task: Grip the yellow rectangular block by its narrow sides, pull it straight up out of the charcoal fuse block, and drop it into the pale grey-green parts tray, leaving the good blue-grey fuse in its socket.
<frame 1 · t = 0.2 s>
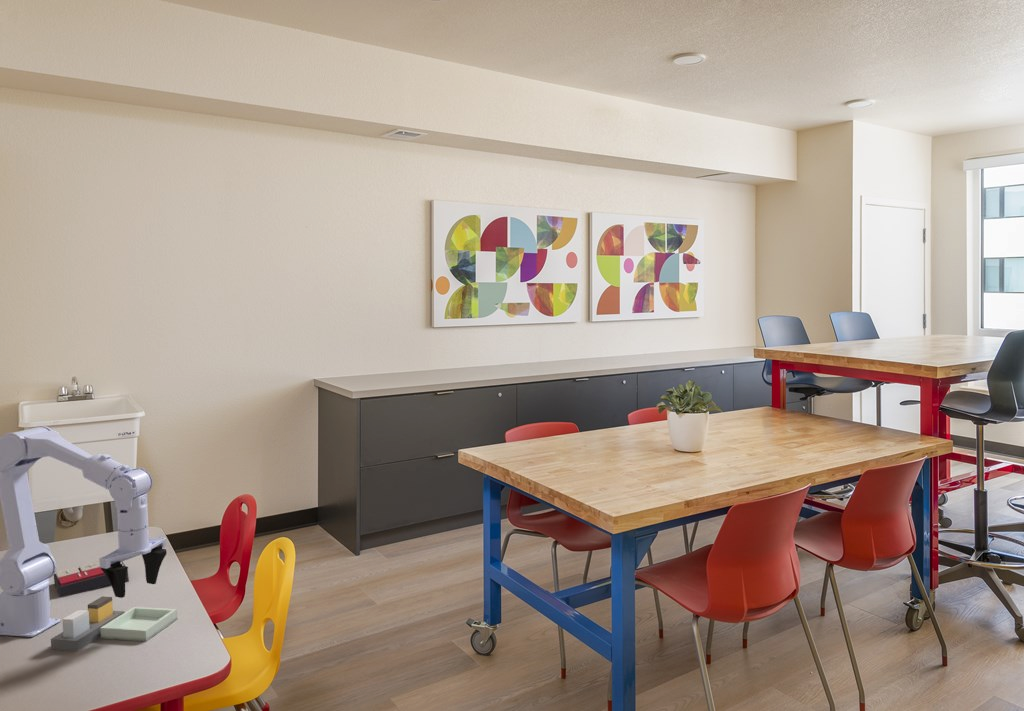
hand: (136, 589, 151), 10 cm above the table, tool pointing down, fingers open, 7 cm apart
yellow rectangular block: (101, 627, 155), resting in fuse block
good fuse: (77, 642, 148), resting in fuse block
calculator: (91, 584, 180), on the table
fuse block: (89, 634, 152), on the table
parts tray: (140, 628, 154), on the table
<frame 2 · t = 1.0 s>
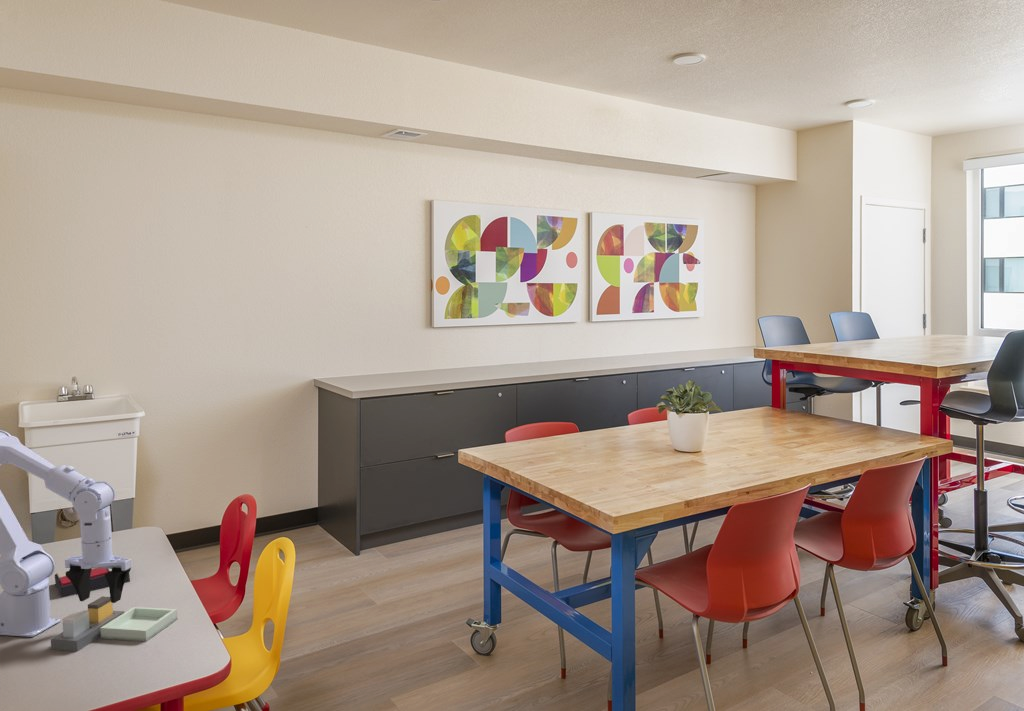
hand: (100, 600, 155), 6 cm above the table, tool pointing down, fingers open, 7 cm apart
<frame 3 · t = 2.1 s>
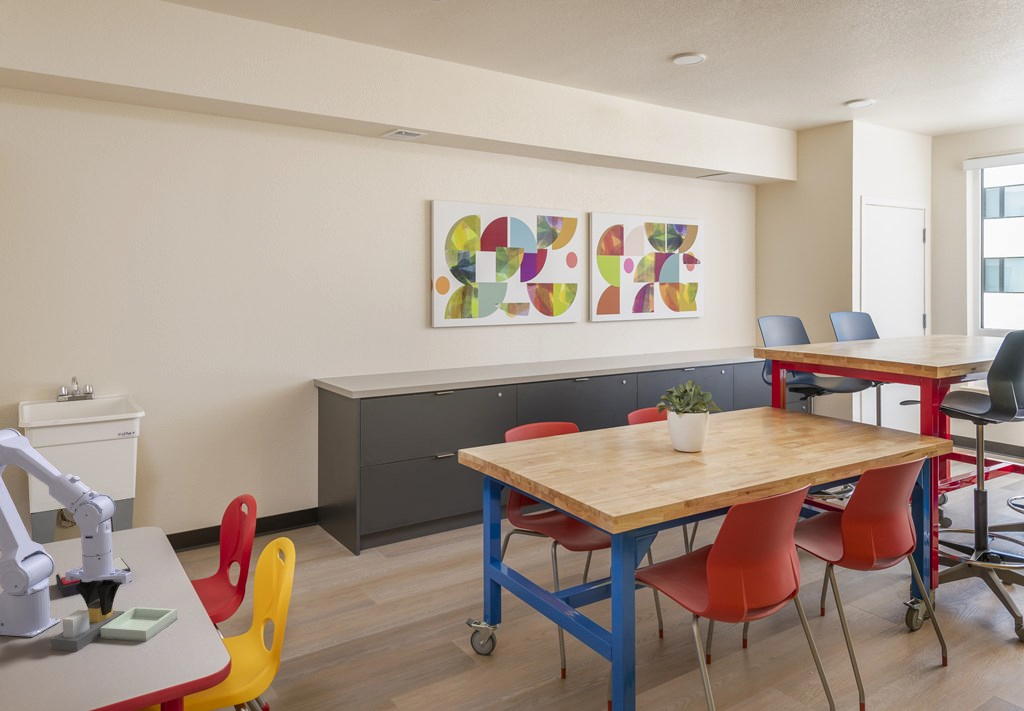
hand: (100, 612, 155), 3 cm above the table, tool pointing down, fingers closed on yellow rectangular block, 2 cm apart
yellow rectangular block: (101, 627, 155), resting in fuse block, touching gripper
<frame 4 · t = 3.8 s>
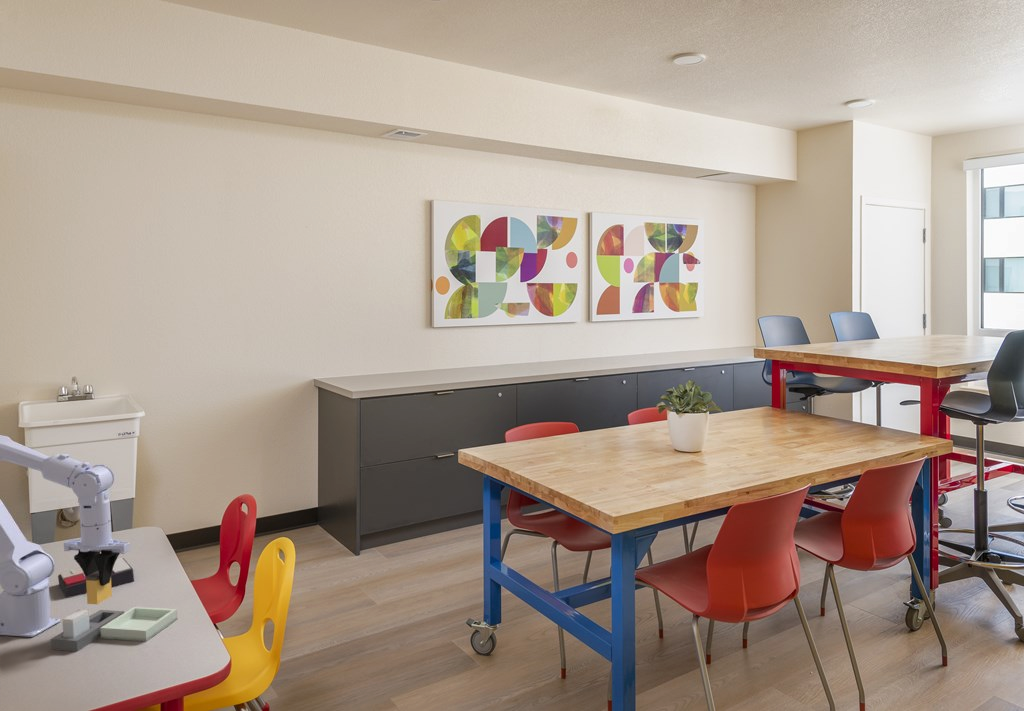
hand: (99, 583, 154), 10 cm above the table, tool pointing down, fingers closed on yellow rectangular block, 2 cm apart
yellow rectangular block: (99, 599, 155), point 6 cm above the table, touching gripper
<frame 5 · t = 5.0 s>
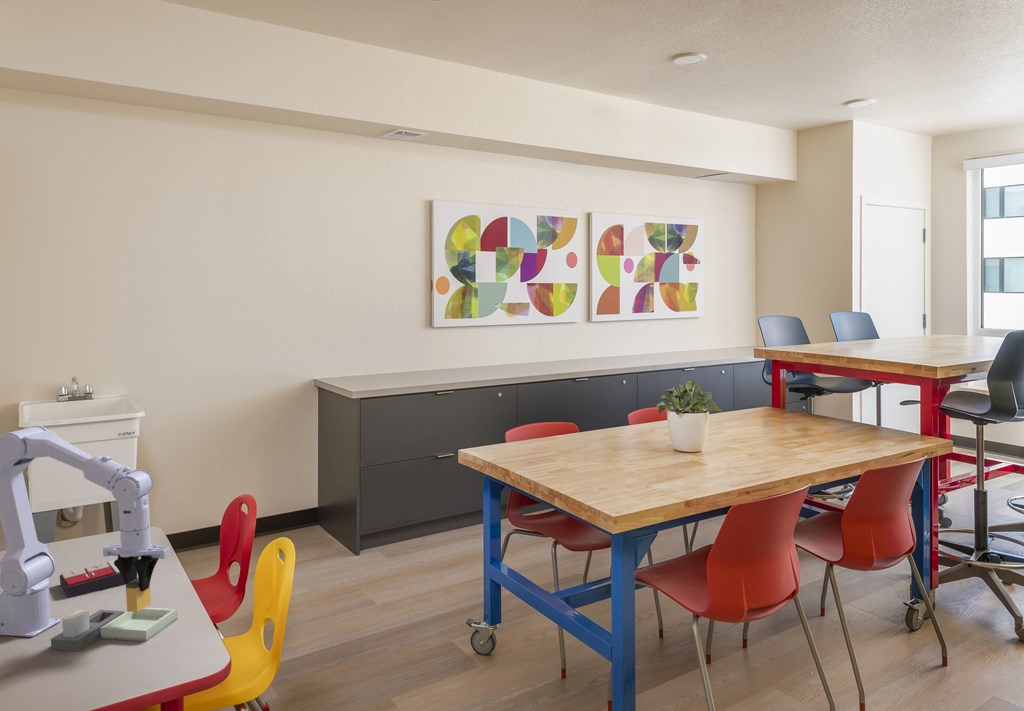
hand: (138, 589, 153), 9 cm above the table, tool pointing down, fingers closed on yellow rectangular block, 2 cm apart
yellow rectangular block: (139, 607, 154), point 5 cm above the table, touching gripper
when the fingers open (5 cm above the table, at t = 5.8 s): yellow rectangular block stays where it is, resting on parts tray.
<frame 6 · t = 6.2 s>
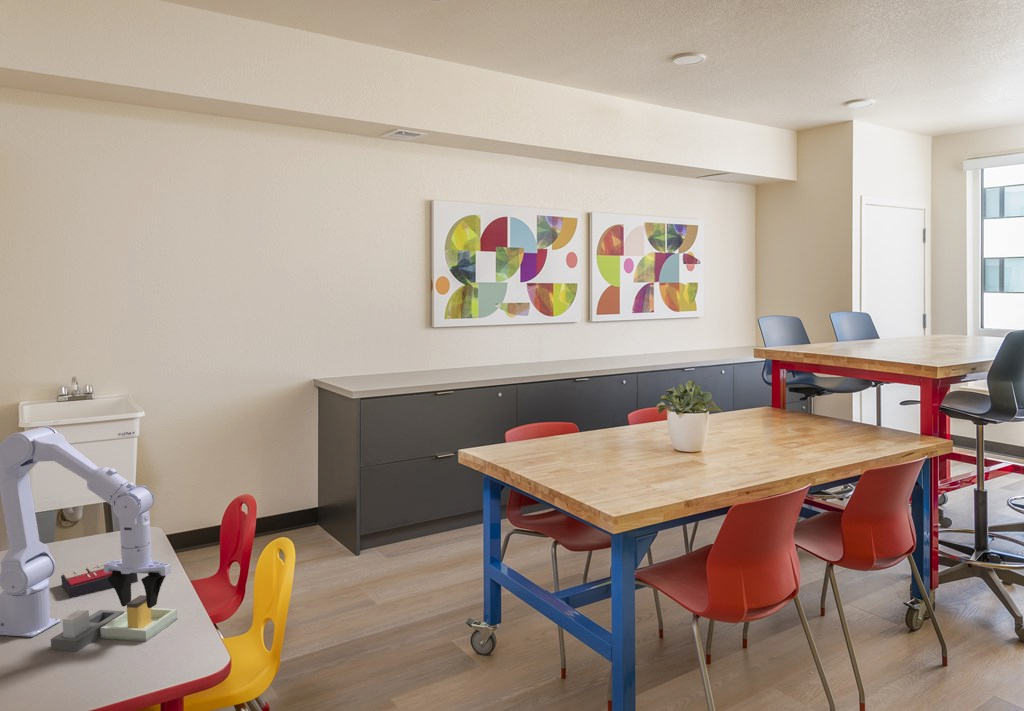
hand: (139, 605, 154), 5 cm above the table, tool pointing down, fingers open, 6 cm apart
yellow rectangular block: (139, 626, 154), resting on parts tray
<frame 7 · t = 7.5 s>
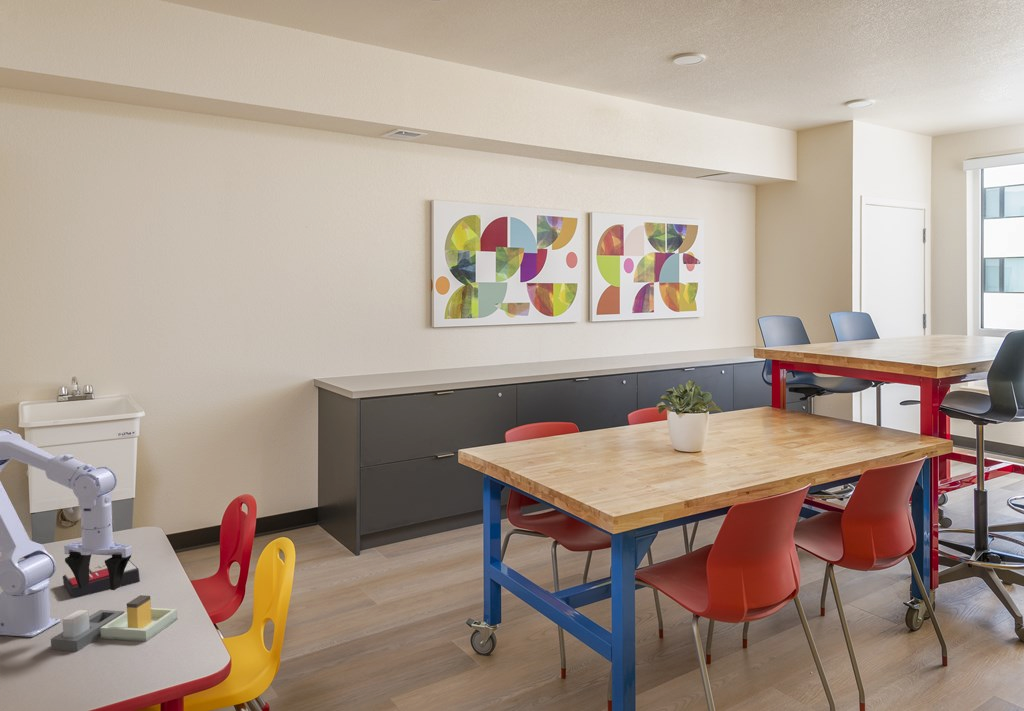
hand: (99, 587, 152), 10 cm above the table, tool pointing down, fingers open, 7 cm apart
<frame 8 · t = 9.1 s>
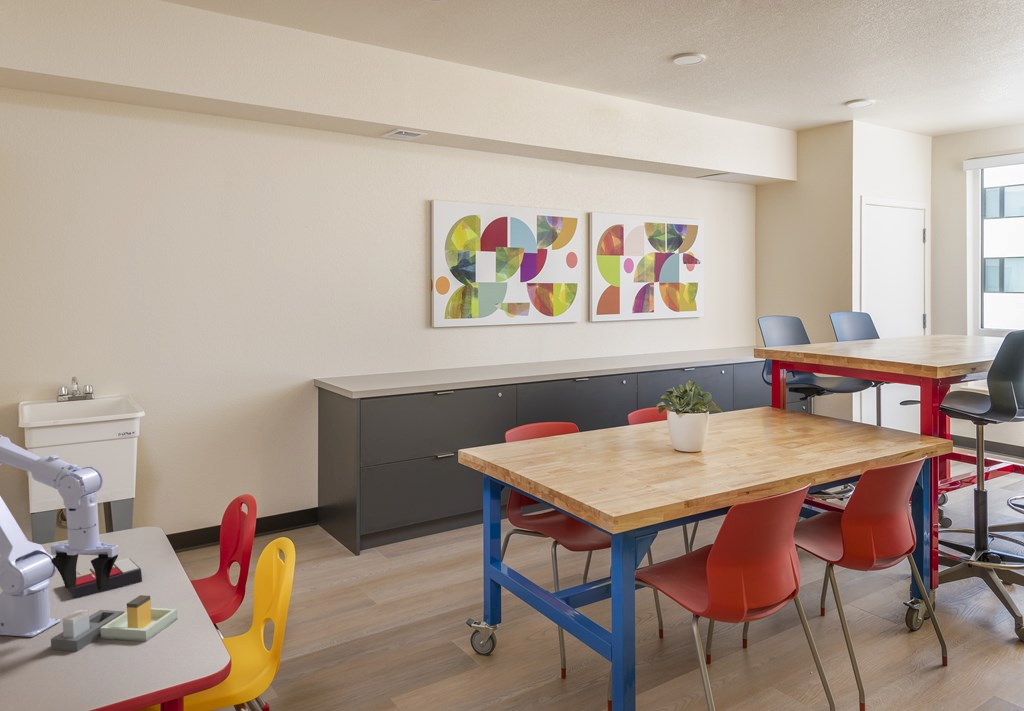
hand: (86, 587, 152), 10 cm above the table, tool pointing down, fingers open, 7 cm apart
at the end: yellow rectangular block inside the target area on the parts tray (0.1 cm from its centre), point 0.5 cm above the parts tray's base; the gripper is holding nothing; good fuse moved 0.1 cm from its start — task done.
